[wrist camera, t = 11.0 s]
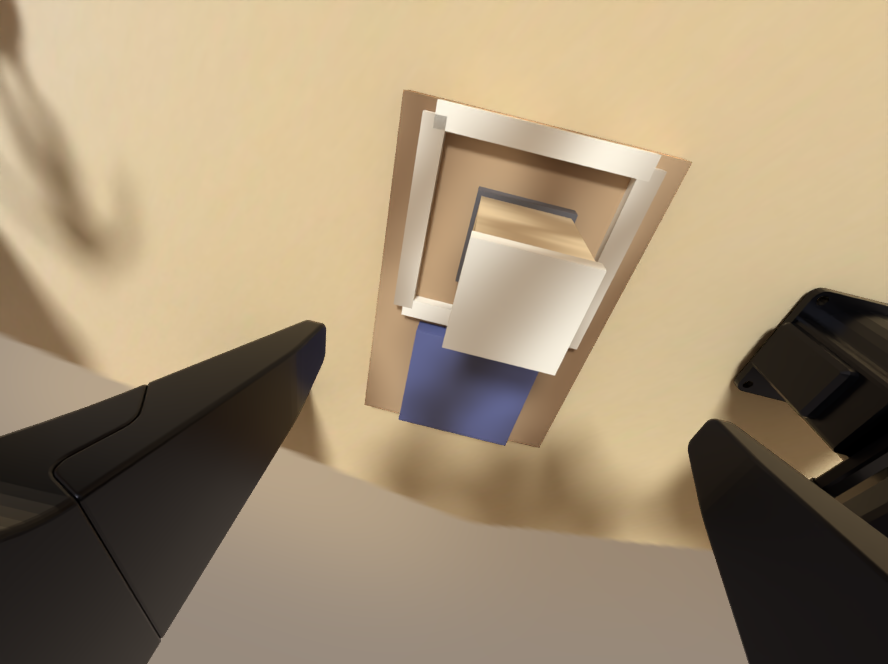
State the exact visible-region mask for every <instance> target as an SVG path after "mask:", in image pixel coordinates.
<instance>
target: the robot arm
mask: <svg viewBox="0 0 888 664" xmlns="http://www.w3.org/2000/svg"><path fill="white" fill-rule="evenodd" d="M822 296H823V297H822ZM820 297H822V298H821V299H820V300H819V301H817V299H819V298H820ZM325 347H326V327H325V325H324V324H323V323H319V322H315V321H311V320H306V321H303V322H300V323H298V324H295V325H293V326H290V327H288V328H285V329H283V330H280V331H278V332H275V333H273V334H270V335H268V336H265V337H263V338H260V339H258V340H255V341H253V342H250V343H248V344H245V345H243V346H240V347H238V348H235V349H232V350H230V351H227V352H225V353H222V354H220V355H217V356H215V357H212V358H210V359H207V360H205V361H202V362H200V363H197V364H195V365H192V366H190V367H187V368H185V369H182V370H180V371H177V372H175V373H172V374H170V375H167V376H165V377H162V378H160V379H157V380H155V381H152V382H150V383H149V384H148V386H147V385H142V386H139V387H137V388H134V389H132V390H129V391H127V392H124V393H122V394H119V395H116V396H114V397H111V398H109V399H106V400H103V401H101V402H98V403H96V404H93V405H90V406H88V407H85V408H82V409H79V410H77V411H73V412H71V413H68V414H65V415H62V416H59V417H56V418H53V419H50V420H47V421H45V422H42V423H39V424H36V425H33V426H30V427H27V428H24V429H21V430H18V431H15V432H12V433H9V434H6V435H3V436H0V664H147V663H148V661H149V660H150V658H151V657H152V655H153V653H154V652H155V650H156V648H157V647H158V645H159V643H160V642H161V639H160V638H162V637H163V636H164V635H165V633H166V632H167V630H168V628H169V627H170V625H171V623H172V622H173V620H174V619H175V617H176V615H177V614H178V612H179V610H180V609H181V607H182V605H183V604H184V602H185V601H186V599H187V597H188V596H189V594H190V592H191V591H192V589H193V587H194V586H195V584H196V582H197V581H198V579H199V578H200V576H201V574H202V573H203V571H204V569H205V568H206V566H207V565H208V563H209V561H210V560H211V558H212V557H213V555H214V553H215V551H216V550H217V548H218V547H219V545H220V543H221V542H222V540H223V539H224V537H225V535H226V534H227V532H228V530H229V529H230V527H231V526H232V524H233V522H234V521H235V519H236V517H237V515H238V514H239V512H240V511H241V509H242V508H243V506H244V504H245V503H246V501H247V499H248V498H249V496H250V495H251V493H252V491H253V489H254V488H255V486H256V485H257V483H258V481H259V480H260V478H261V476H262V475H263V473H264V472H265V470H266V468H267V467H268V465H269V464H270V462H271V460H272V459H273V457H274V455H275V454H276V452H277V451H278V449H279V447H280V446H281V444H282V442H283V441H284V439H285V437H286V436H287V434H288V433H289V431H290V429H291V428H292V426H293V424H294V423H295V421H296V419H297V417H298V415H299V413H300V411H301V409H302V407H303V405H304V403H305V400H306V398H307V396H308V394H309V392H310V390H311V387H312V385H313V383H314V381H315V379H316V376H317V374H318V372H319V370H320V368H321V365H322V363H323V361H324V357H325ZM747 381H748V382H747ZM745 382H747V383H745ZM734 383H735V385H736V386H737V387H738V388H739V390H741V391H745V392H749V393H753V394H757V395H761V396H765V397H769V398H773V399H777V400H781V401H785V402H787V403H788V404H789V405H790V406H791V407H792V408H793V409H794V411H795V412H796V413H797V414H798V415H800V416H801V417H802V418H803V419H804V420H805V421H806V422H807V423H808V424H809V425H810V427H811V428H812V429H813V430H814V431H815V432H816V433H817V434H818V435H819V436H820V437H821V438H822V439H823V441H824V442H825V443H826V444H827V445H828V446H829V447H830V448H831V449H832V450H833V451H834V452H835V453H837V454H838V456H839V457H840V458H841V459H842V460H843V461H842V462H841V463H839V464H837V465H836V466H834V467H833V468H831V469H830V470H828V471H827V472H825V473H824V474H822V475H820V476H819V477H817V478H811V479H810V480H809V479H807V478H806V477H805V476H803V475H802V474H801V473H799V472H798V471H797V470H795V469H794V468H793V467H791V466H790V465H789V464H787V463H786V462H784V461H783V460H782V459H780V458H779V457H778V456H776V455H775V454H774V453H772V452H771V451H770V450H768V449H767V448H766V447H764V446H763V445H762V444H760V443H759V442H757V441H756V440H755V439H753V438H752V437H751V436H749V435H748V434H747V433H745V432H744V431H743V430H741V429H740V428H739V427H737V426H736V425H734V424H733V423H731V422H727V421H723V420H719V419H710V420H708V421H707V422H706V423H705V424H704V425H703V426H702V428H701V429H700V430H699V431H698V432H697V433H696V434H695V436H694V437H693V438H692V439H691V440H690V442H689V445H688V454H689V459H690V463H691V468H692V473H693V478H694V482H695V487H696V492H697V497H698V501H699V506H700V510H701V514H702V518H703V521H704V524H705V528H706V531H707V534H708V537H709V540H710V543H711V547H712V550H713V553H714V556H715V559H716V562H717V565H718V569H719V571H720V575H721V578H722V581H723V584H724V587H725V590H726V594H727V597H728V600H729V603H730V606H731V609H732V612H733V615H734V619H735V622H736V625H737V628H738V631H739V634H740V637H741V641H742V644H743V647H744V650H745V653H746V657H747V660H748V663H749V664H888V304H886V303H882V302H878V301H874V300H870V299H866V298H862V297H858V296H854V295H850V294H846V293H842V292H838V291H834V290H830V289H826V288H817V289H814V290H812V291H810V292H809V293H808V294H807V295H806V296H805V297H804V298H803V300H802V301H801V302H800V303H799V304H798V305H797V307H796V308H795V309H794V310H793V311H792V312H791V314H790V315H789V316H788V317H787V318H786V319H785V321H784V322H783V323H782V324H781V325H780V327H779V328H778V329H777V330H776V331H775V332H774V334H773V335H772V336H771V337H770V338H769V339H768V341H767V342H766V343H765V344H764V345H763V346H762V348H761V349H760V350H759V351H758V352H757V353H756V355H755V356H754V357H753V358H752V359H751V361H750V362H749V363H748V364H747V365H746V366H745V368H744V369H743V370H742V371H741V372H740V373H739V375H738V376H737V377H736V378H735V380H734Z"/></svg>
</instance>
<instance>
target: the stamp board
mask: <svg viewBox="0 0 888 664" xmlns="http://www.w3.org/2000/svg"><path fill="white" fill-rule="evenodd" d="M691 164H692V162H690V161H687V160H684V159H682V158H678V157H674V156H670V155H666V154H662V153H658V152H654V151H650V150H646V149H642V148H638V147H634V146H630V145H626V144H622V143H618V142H614V141H610V140H606V139H602V138H598V137H594V136H590V135H586V134H583V133H579V132H575V131H571V130H567V129H563V128H559V127H555V126H551V125H547V124H543V123H539V122H535V121H531V120H527V119H523V118H519V117H515V116H511V115H507V114H503V113H499V112H495V111H491V110H487V109H483V108H479V107H475V106H471V105H467V104H463V103H459V102H455V101H451V100H447V99H443V98H439V97H435V96H431V95H427V94H423V93H419V92H415V91H411V90H403V97H402V106H401V114H400V122H399V130H398V138H397V146H396V154H395V162H394V170H393V179H392V187H391V195H390V203H389V211H388V219H387V227H386V235H385V243H384V251H383V260H382V268H381V276H380V284H379V292H378V300H377V308H376V316H375V324H374V332H373V341H372V349H371V357H370V365H369V373H368V381H367V389H366V397H365V405H368V406H372V407H376V408H380V409H384V410H388V411H392V412H396V413H400V415H399V420H402V421H406V422H411V423H415V424H419V425H423V426H427V427H431V428H435V429H439V430H443V431H447V432H451V433H455V434H459V435H463V436H468V437H472V438H476V439H480V440H484V441H488V442H492V443H496V444H500V445H504V446H505V445H506V443H507V440H510V441H514V442H518V443H522V444H526V445H530V446H534V447H538V448H539V447H540V445H541V443H542V441H543V439H544V437H545V436H546V434H547V432H548V430H549V428H550V426H551V424H552V423H553V421H554V419H555V417H556V415H557V413H558V411H559V410H560V408H561V406H562V404H563V402H564V400H565V398H566V396H567V395H568V393H569V391H570V389H571V387H572V385H573V383H574V382H575V380H576V378H577V376H578V374H579V372H580V370H581V369H582V367H583V365H584V363H585V361H586V359H587V357H588V356H589V354H590V352H591V350H592V348H593V346H594V344H595V343H596V341H597V339H598V337H599V335H600V333H601V331H602V329H603V328H604V326H605V324H606V322H607V320H608V318H609V316H610V315H611V313H612V311H613V309H614V307H615V305H616V303H617V302H618V300H619V298H620V296H621V294H622V292H623V290H624V289H625V287H626V285H627V283H628V281H629V279H630V277H631V276H632V274H633V272H634V270H635V268H636V266H637V264H638V262H639V261H640V259H641V257H642V255H643V253H644V251H645V249H646V248H647V246H648V244H649V242H650V240H651V238H652V236H653V235H654V233H655V231H656V229H657V227H658V225H659V223H660V222H661V220H662V218H663V216H664V214H665V212H666V210H667V209H668V207H669V205H670V203H671V201H672V199H673V197H674V195H675V194H676V192H677V190H678V188H679V186H680V184H681V182H682V181H683V179H684V177H685V175H686V173H687V171H688V169H689V168H690V166H691ZM479 186H481V187H485V188H489V189H493V190H496V191H500V192H504V193H508V194H512V195H516V196H520V197H524V198H528V199H532V200H536V201H540V202H544V203H548V204H552V205H556V206H560V207H564V208H567V209H571V210H575V211H576V213H577V215H578V216H577V219H576V221H575V226H576V228H577V229H578V231H579V233H580V235H581V236H582V238H583V240H584V242H585V244H586V245H587V247H588V249H589V251H590V253H591V254H592V256H593V258H594V260H595V261H596V262H599V263H602V264H603V266H604V267H605V269H606V271H607V272H606V274H605V276H604V278H603V280H602V282H601V284H600V286H599V288H598V290H597V292H596V294H595V296H594V298H593V300H592V302H591V304H590V306H589V308H588V310H587V312H586V314H585V316H584V318H583V320H582V322H581V324H580V326H579V328H578V330H577V332H576V334H575V336H574V338H573V340H572V342H571V344H570V346H569V348H568V350H567V352H566V354H565V356H564V358H563V360H562V362H561V364H560V366H559V368H558V370H557V372H556V374H555V375H551V374H547V373H543V372H539V371H535V370H531V369H527V368H523V367H519V366H515V365H511V364H507V363H503V362H498V361H494V360H490V359H486V358H482V357H478V356H474V355H470V354H466V353H462V352H458V351H454V350H450V349H446V348H442V345H443V341H444V337H445V333H446V329H447V325H448V321H449V317H450V313H451V309H452V306H453V302H454V298H455V294H456V290H457V286H458V282H456V281H455V280H456V276H457V272H458V268H459V264H460V260H461V256H462V252H463V248H464V244H465V240H466V236H467V232H468V228H469V224H470V220H471V216H472V212H473V208H474V204H475V200H476V196H477V192H478V188H479Z"/></svg>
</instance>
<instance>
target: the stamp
mask: <svg viewBox="0 0 888 664" xmlns="http://www.w3.org/2000/svg"><path fill="white" fill-rule="evenodd" d="M577 216H578V215H577V213H576V211H575V210H571V209H567V208H564V207H560V206H556V205H552V204H548V203H544V202H540V201H536V200H532V199H528V198H524V197H520V196H516V195H512V194H508V193H504V192H500V191H496V190H493V189H489V188H485V187H481V186H479V188H478V192H477V196H476V200H475V204H474V208H473V212H472V216H471V220H470V224H469V228H468V232H467V236H466V240H465V244H464V248H463V252H462V256H461V260H460V264H459V268H458V272H457V276H456V280H455V281H456V282H458V286H457V290H456V294H455V298H454V302H453V306H452V309H451V313H450V317H449V321H448V325H447V329H446V333H445V337H444V341H443V345H442V348H446V349H450V350H454V351H458V352H462V353H466V354H470V355H474V356H478V357H482V358H486V359H490V360H494V361H498V362H503V363H507V364H511V365H515V366H519V367H523V368H527V369H531V370H535V371H539V372H543V373H547V374H551V375H555V374H556V372H557V370H558V368H559V366H560V364H561V362H562V360H563V358H564V356H565V354H566V352H567V350H568V348H569V346H570V344H571V342H572V340H573V338H574V336H575V334H576V332H577V330H578V328H579V326H580V324H581V322H582V320H583V318H584V316H585V314H586V312H587V310H588V308H589V306H590V304H591V302H592V300H593V298H594V296H595V294H596V292H597V290H598V288H599V286H600V284H601V282H602V280H603V278H604V276H605V274H606V272H607V271H606V269H605V267H604V266H603V264H602V263H599V262H596V261H595V260H594V258H593V256H592V254H591V253H590V251H589V249H588V247H587V245H586V244H585V242H584V240H583V238H582V236H581V235H580V233H579V231H578V229H577V228H576V226H575V221H576V219H577Z"/></svg>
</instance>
